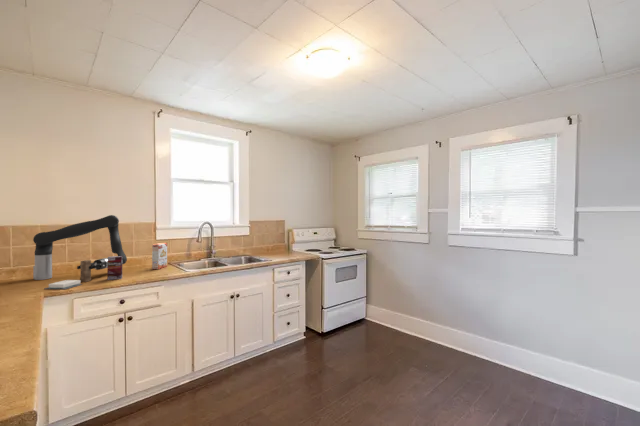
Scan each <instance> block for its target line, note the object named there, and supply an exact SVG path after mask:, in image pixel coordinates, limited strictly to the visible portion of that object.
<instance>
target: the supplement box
mask: <svg viewBox="0 0 640 426" xmlns="http://www.w3.org/2000/svg"><path fill="white" fill-rule="evenodd" d="M122 257H123V256H118V255H116V256H108V257H107V258H108V268H107V270H106V271H107V274H106V275H107V276H106V277H107V281H109V280H110V281H111V280H122V279H123V264H122Z"/></svg>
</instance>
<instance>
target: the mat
mask: <svg viewBox="0 0 640 426" xmlns="http://www.w3.org/2000/svg"><path fill="white" fill-rule="evenodd" d="M79 286H80V287H81V286H83V283H82V284H81V283H80V284H78V285H74V286H70V287H66V288H50V287H49V286H48V287H45V288H44V290H69V289H73V288H76V287H79Z"/></svg>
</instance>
